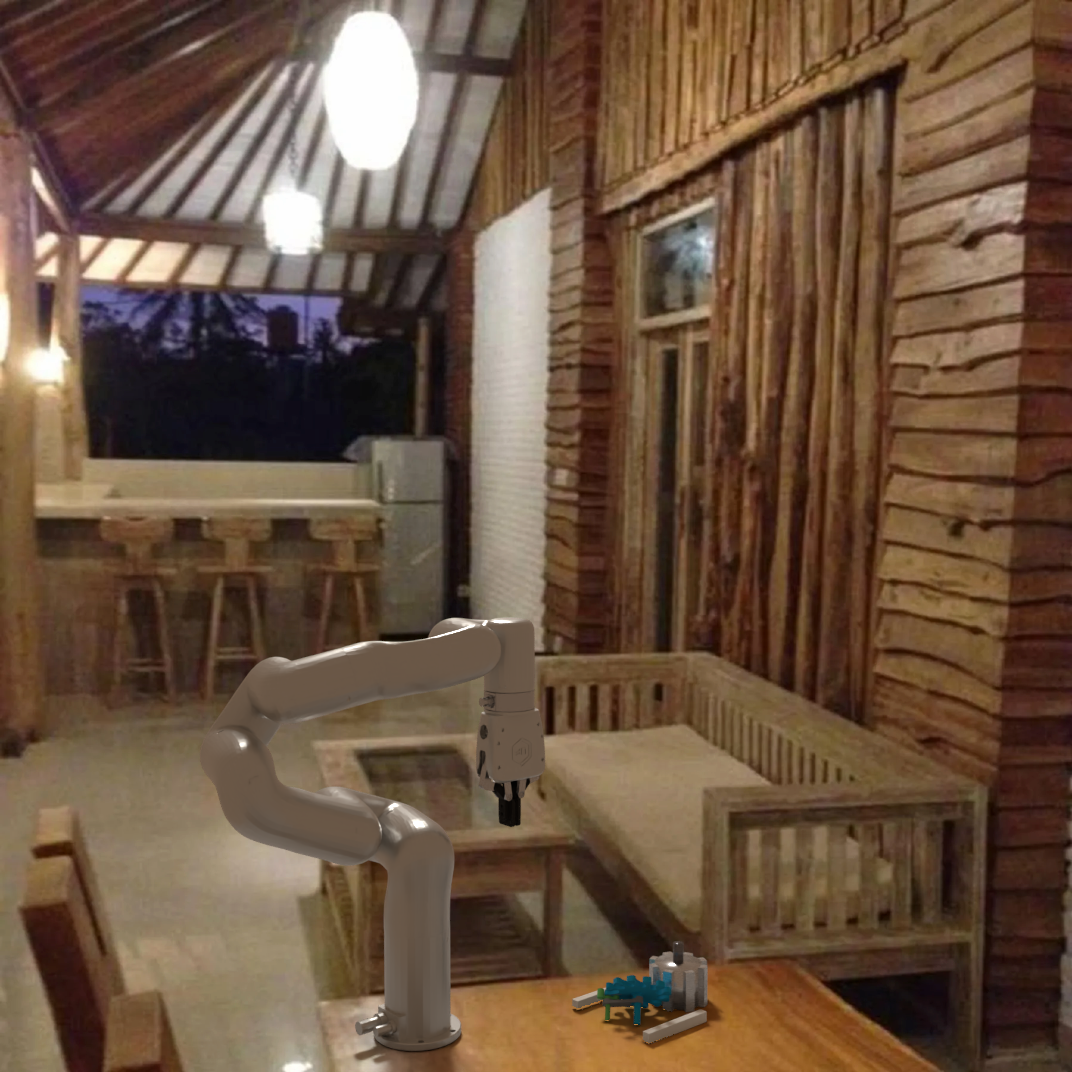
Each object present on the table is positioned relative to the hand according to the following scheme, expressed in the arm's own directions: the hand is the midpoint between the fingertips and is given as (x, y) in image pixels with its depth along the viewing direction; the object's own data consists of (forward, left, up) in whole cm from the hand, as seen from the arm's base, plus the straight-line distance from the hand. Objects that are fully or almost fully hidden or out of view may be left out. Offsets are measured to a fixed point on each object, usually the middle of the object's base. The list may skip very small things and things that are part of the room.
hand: (509, 824), depth 196 cm
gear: (+14, -12, -29) cm, 35 cm away
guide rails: (+15, -12, -29) cm, 35 cm away
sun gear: (+24, -12, -29) cm, 39 cm away
